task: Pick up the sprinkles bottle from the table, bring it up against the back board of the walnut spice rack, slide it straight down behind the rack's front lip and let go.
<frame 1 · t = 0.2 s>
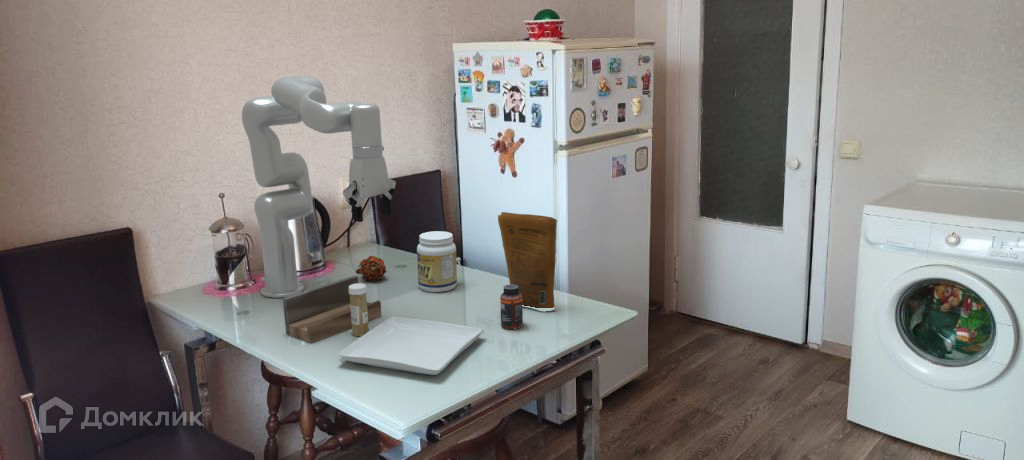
hand: (372, 217, 192), 30 cm above the table, tool pointing down, fingers open, 9 cm apart
pancake mix bag: (530, 307, 212), on the table
supplement bottle: (511, 326, 198), on the table
spice rack: (335, 324, 200), on the table
sprinkles bottle: (360, 334, 194), on the table
supplement tub: (437, 287, 230), on the table
dragon fruit: (371, 279, 239), on the table
square plate: (413, 354, 182), on the table
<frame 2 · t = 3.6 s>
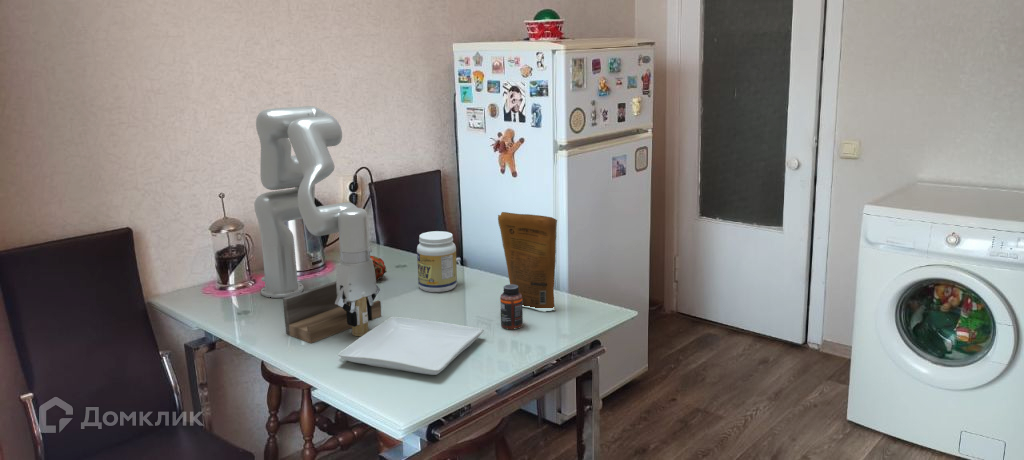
hand: (359, 321, 193), 3 cm above the table, tool pointing down, fingers closed on sprinkles bottle, 4 cm apart
sprinkles bottle: (360, 334, 194), on the table, touching gripper
everything else where it was.
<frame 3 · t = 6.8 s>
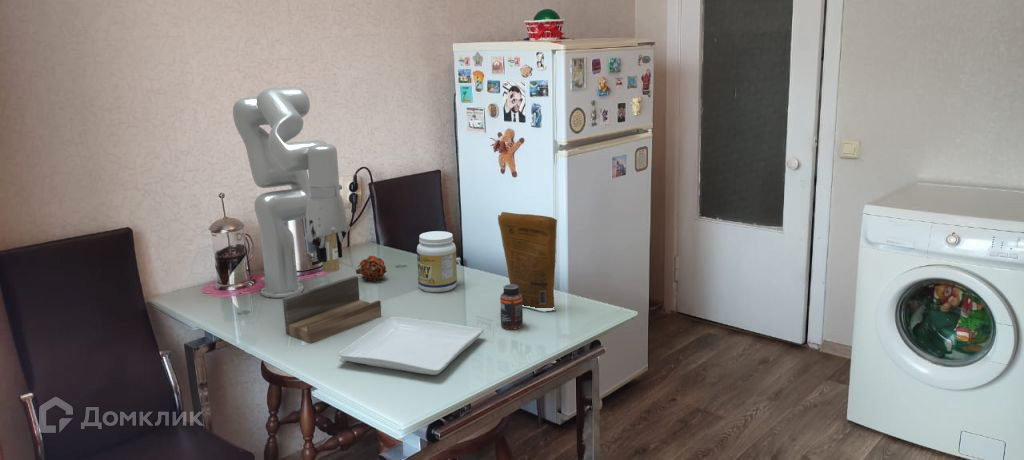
hand: (329, 258, 195), 19 cm above the table, tool pointing down, fingers closed on sprinkles bottle, 4 cm apart
sprinkles bottle: (330, 270, 196), point 15 cm above the table, touching gripper
everything else where it was.
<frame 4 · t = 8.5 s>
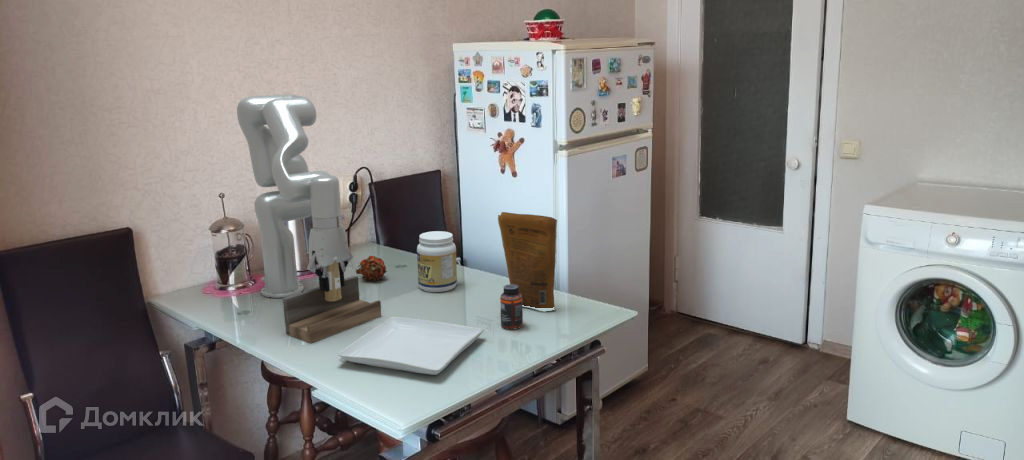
hand: (332, 287, 197), 11 cm above the table, tool pointing down, fingers closed on sprinkles bottle, 4 cm apart
sprinkles bottle: (333, 299, 198), point 7 cm above the table, touching gripper
everything else where it was.
when the fingers open (8 cm above the table, at t = 10.1 s): sprinkles bottle drops 1 cm, resting on spice rack.
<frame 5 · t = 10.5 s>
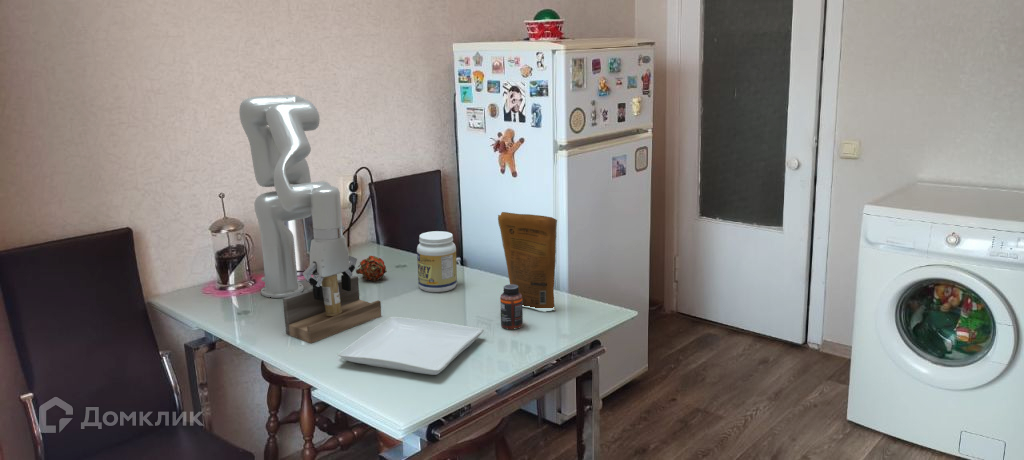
hand: (332, 294, 198), 9 cm above the table, tool pointing down, fingers open, 9 cm apart
sprinkles bottle: (333, 314, 199), point 3 cm above the table, touching spice rack
everything else where it was.
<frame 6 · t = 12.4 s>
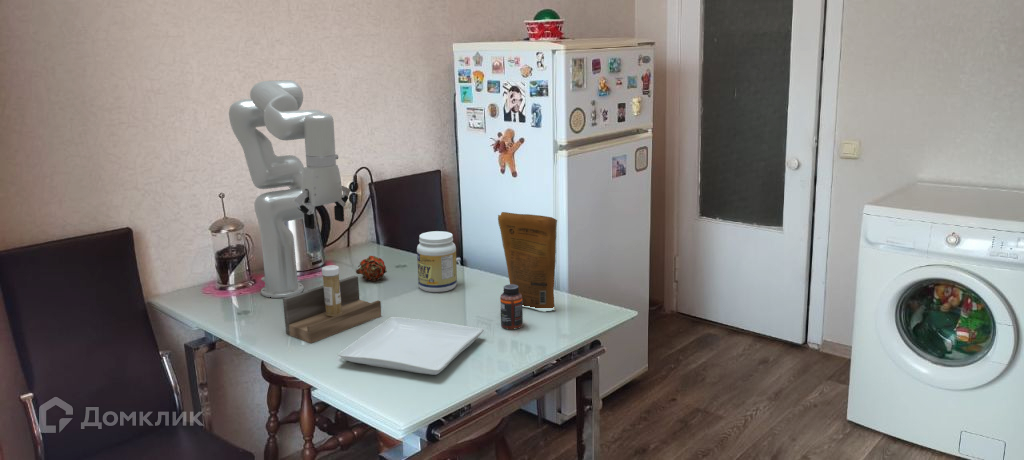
hand: (324, 224, 196), 28 cm above the table, tool pointing down, fingers open, 9 cm apart
nothing on the table moved.
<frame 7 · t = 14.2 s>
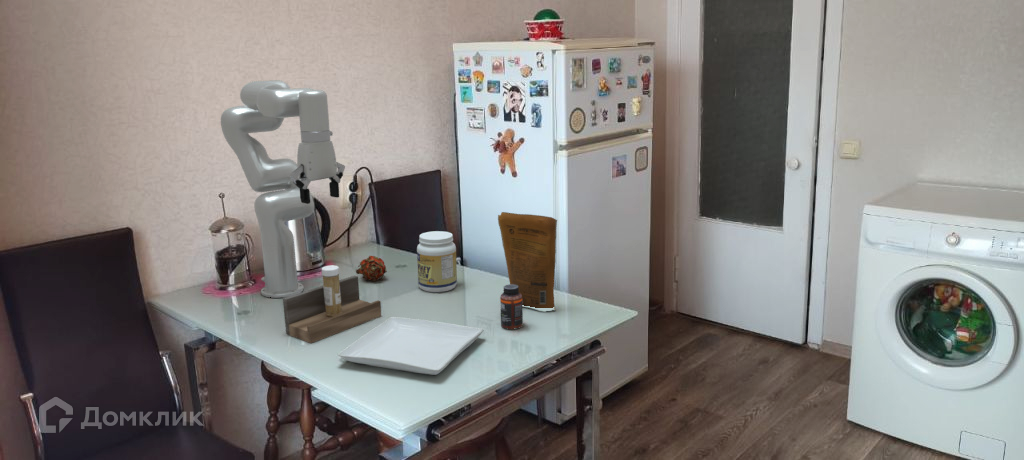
hand: (320, 199, 199), 33 cm above the table, tool pointing down, fingers open, 9 cm apart
nothing on the table moved.
at the end: sprinkles bottle inside the target area on the spice rack (0.5 cm from its centre), point 2.8 cm above the spice rack's base; sprinkles bottle tilted 0°; the gripper is holding nothing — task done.
